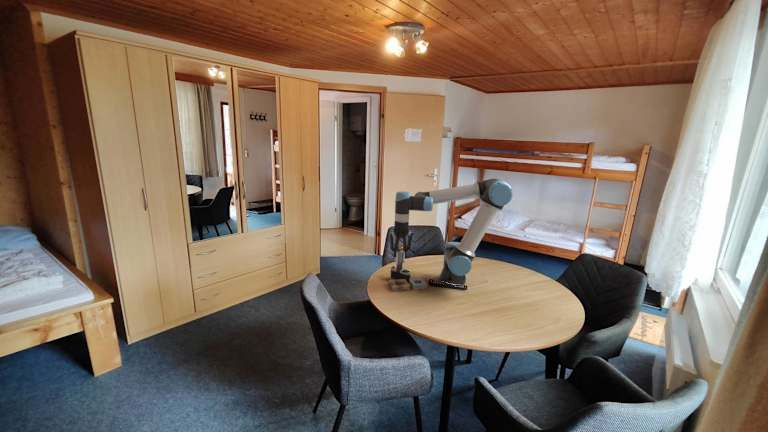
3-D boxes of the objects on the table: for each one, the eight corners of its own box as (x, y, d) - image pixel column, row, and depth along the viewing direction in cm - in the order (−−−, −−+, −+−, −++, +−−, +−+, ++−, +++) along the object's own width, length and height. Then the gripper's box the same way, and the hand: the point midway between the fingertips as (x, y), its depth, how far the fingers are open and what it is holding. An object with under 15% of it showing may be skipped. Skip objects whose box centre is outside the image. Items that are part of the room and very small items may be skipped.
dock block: (404, 282, 188) (405, 278, 187) (410, 290, 178) (410, 286, 178) (388, 284, 185) (388, 280, 185) (392, 292, 176) (392, 287, 175)
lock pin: (401, 267, 182) (402, 245, 179) (403, 270, 178) (405, 247, 175) (394, 268, 181) (395, 245, 178) (396, 270, 177) (397, 247, 174)
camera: (414, 280, 192) (414, 265, 191) (408, 284, 186) (408, 269, 184) (395, 276, 199) (395, 262, 198) (389, 280, 193) (388, 265, 191)
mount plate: (422, 282, 189) (422, 278, 188) (426, 288, 181) (427, 284, 181) (408, 283, 187) (408, 279, 187) (413, 289, 180) (413, 285, 179)
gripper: (414, 218, 179) (411, 259, 184) (385, 219, 175) (383, 260, 180) (418, 222, 172) (416, 264, 177) (388, 222, 168) (386, 265, 173)
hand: (399, 262), depth 179 cm, fingers closed on lock pin, 3 cm apart
